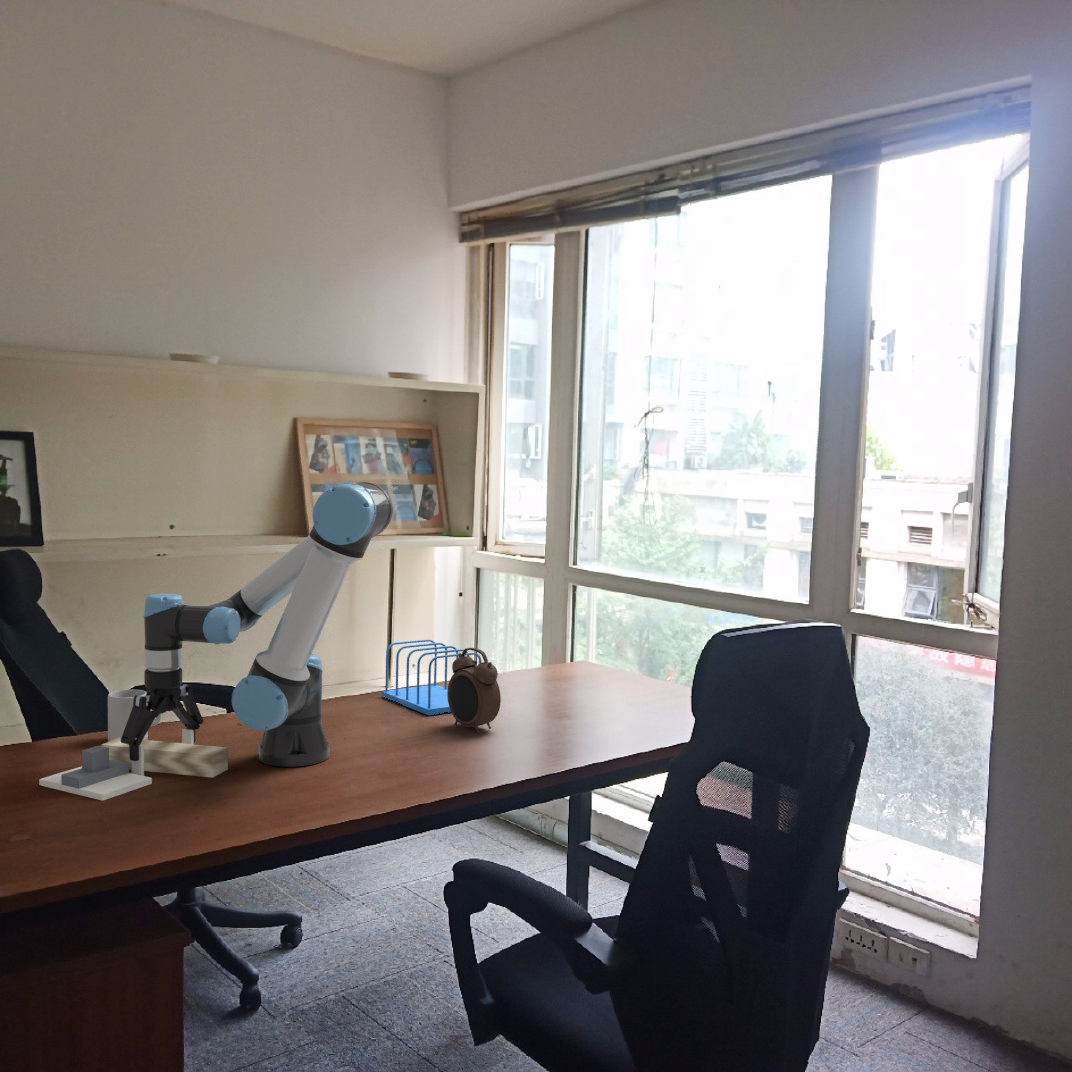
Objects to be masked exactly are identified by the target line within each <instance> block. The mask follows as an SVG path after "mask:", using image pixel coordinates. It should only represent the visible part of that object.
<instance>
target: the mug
mask: <svg viewBox="0 0 1072 1072" xmlns="http://www.w3.org/2000/svg"><path fill="white" fill-rule="evenodd" d="M146 693H147V690H146V691H145V690H144V689H121V690H115V691H112V692H109V693H108V694H107V742H109V741H111V740H114V739H116V738H118V737H120V738H121V737H122V735H123V732H124V729H125V727H126V724H127V721H128V718H129V716H130V713H131V710H132V708H133V699H134V696H136V695H137V696H146ZM162 717H163V713H160V714H159V716H158V717H156V718H155V719H154V721H153V723H152V724H151V726H150V728H151V727H155V726H157V725H159V724H160V723H161V720H162ZM148 733H149V730H148V731H147V733H146V735H145V737H144V738H143V740H148V738H149V737H148V736H149V734H148ZM136 739H137V738H136Z"/></svg>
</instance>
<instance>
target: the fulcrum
mask: <svg viewBox="0 0 1072 1072" xmlns="http://www.w3.org/2000/svg"><path fill="white" fill-rule="evenodd" d="M38 781H39V783H38V785H39V786H42V787H45V788H49V789H54V790H58V791H62V792H66V793H70V794H74V795H79V796H82V797H86V798H90V799H94V800H99V801H106V800H108V799H111V798H114V797H118V796H120V795H123V794H126V793H129V792H131V791H135V790H138V789H141V788H144V787H146V786H147V787H148V786H149V785H152V784H153V783H152V782H153V778H152V777H149V776H146V775H144V776H141V775H137V774H132V772H130V769H129V763H126V762H121V761H117V760H112V759H111V760H109V748H107V747H103V746H101V745H96V746H92V747H89V748H85V749H81V766H79V767H75V768H73V769H69V770H65V771H61V772H58V773H54V774H52V775H49V776H45V777H42V778H39V780H38Z"/></svg>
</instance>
